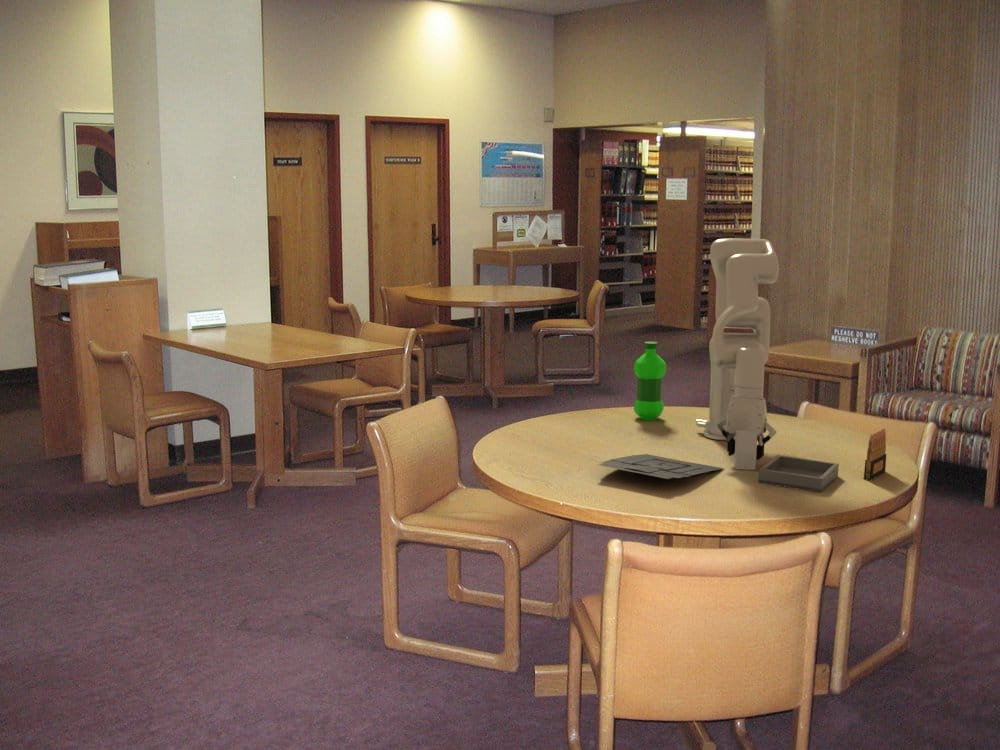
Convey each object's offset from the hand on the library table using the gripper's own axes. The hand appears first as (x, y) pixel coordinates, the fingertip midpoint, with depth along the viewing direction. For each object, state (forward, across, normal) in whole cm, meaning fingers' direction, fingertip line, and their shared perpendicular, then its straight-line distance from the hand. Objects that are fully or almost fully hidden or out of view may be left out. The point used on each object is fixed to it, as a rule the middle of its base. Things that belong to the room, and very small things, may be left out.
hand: (745, 456), depth 281 cm
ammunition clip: (+3, +32, +10) cm, 34 cm away
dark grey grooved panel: (+3, -17, -19) cm, 26 cm away
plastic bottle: (+3, -45, +40) cm, 60 cm away
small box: (+3, 0, 0) cm, 3 cm away
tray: (+3, +16, -5) cm, 17 cm away
